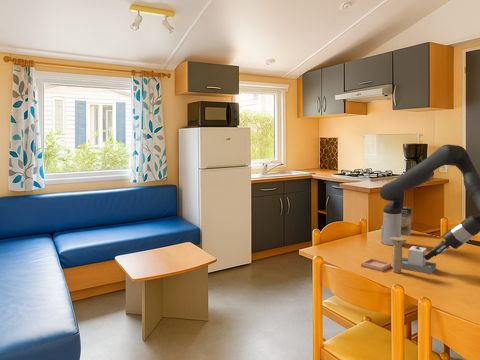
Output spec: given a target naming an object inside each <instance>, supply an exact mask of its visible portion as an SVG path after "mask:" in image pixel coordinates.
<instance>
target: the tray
mask: <svg viewBox="0 0 480 360" xmlns="http://www.w3.org/2000/svg"><path fill="white" fill-rule="evenodd" d="M360 267H361V268H362V267H363V268H365V269H366V268H367V269H370V270H373V271H378V272H384V271H386V270H388V269H389V268H391V267H392V262H390V261H385V260H381V259H377V258H373V257H369V258H368V259H366V260H363V261H361V264H360Z"/></svg>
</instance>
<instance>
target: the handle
mask: <svg viewBox="0 0 480 360" xmlns="http://www.w3.org/2000/svg"><path fill="white" fill-rule="evenodd" d="M390 241H391V242H392V243H394V245H393V250H392V262H391V264H392V271H393V273H395V274H400V273H402V269H403V268H402V257H403V244H405V243H406V242H407V239H406V238H405V237H402V236H401V237H391V238H390Z"/></svg>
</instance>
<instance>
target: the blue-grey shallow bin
mask: <svg viewBox="0 0 480 360" xmlns="http://www.w3.org/2000/svg"><path fill="white" fill-rule="evenodd" d="M436 267H437V263H436V262H430V261H426V264H425V265H424V266H418V265H412V264H408V257H403V256H402V268H401V269H403V270H407V271H408V270H410V271H415V272H419V273H426V274H431V275H432V274H433V273H434V271H436V269H437V268H436Z"/></svg>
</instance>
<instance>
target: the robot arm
mask: <svg viewBox="0 0 480 360" xmlns="http://www.w3.org/2000/svg"><path fill="white" fill-rule="evenodd" d="M444 166H452V167H456V168H457V169H458V170H459V171H460V172H461V174H462V177H463V185H464V189H466V192H467V193H468V194H469V196H470V197H471V199H472V200H473V201H474V204H475V207H476V208H477V210H478V212H479V213H478V214H477V215H476V214H475V215H474V214H473V215H470V216H468V217H467V218H465V219H464V220H463V221H461V222H459V223H457V224H456V225H454V226H453V227H452V228H450V229H448V231H446V232H445V233H443V234H442V237H443V240H441V241H440V242H438V244H436V245H435V246H434V247H433V249H431V250H430V251H429V252H428V253H426V255H425V256H424V258H425V259H426V261H429V260H431V259H432V258H434V257H437V256H439V255H441V254H442V253H444V252H447V251H448V250H449V249H450V247H451V248H452V249H455V250H456V249H459V248H460V247H461V246H463V245H464V244H465V243H467V242H468V241H470V240H471V239H473V237H475V236H476V235H478V234H479V233H480V174H479V173H478V172H477V171H478V170H477V169H476V167H475V166H474V164H473V161H472V160H471V157H470V155H469V154H468V151H467V150H466V149H465V147H464V146H461V145H456V144H444V145H443V144H442V145H441V146H439V148H437V149H436V150H435V151H434V152H433V153H431V154H430V155H428V156H427V157H426V158H425V159H423V160H422V161H420V162H419V163H417V164H416V165H414V166H413V167H411V168H410V169H407V171H405V172H404V173H403V174H401V175H399V176H397V177H396V178H394V179H393V180H391V181H390V182H387V183H385V184H383V185H382V186H381V187H380V190H379V196H380V198H382V200H384V201H387V202H389V203H387V204H386V205H384V206H383V208H382V209H383V210H382V211H383V217H382V218H383V219H382V225H381V227H380V228H381V230H380V236H381V237H380V243H381V244H384V245H387V246H394V243H392V242H391V241H390V238H391V237H401V238H402V234H401V211H402V208H403V207H404V201H405V191H407V190H411V189H414V188H417V187H419V186H421V185H423V184H424V183H427V182H428V181H429V180H430V179H431V178H432V176H433V172H435V171H436V170H438V169H439V168H441V167H444Z"/></svg>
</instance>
